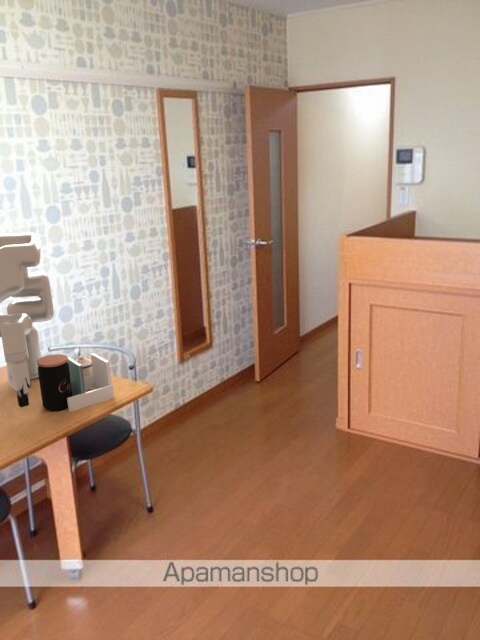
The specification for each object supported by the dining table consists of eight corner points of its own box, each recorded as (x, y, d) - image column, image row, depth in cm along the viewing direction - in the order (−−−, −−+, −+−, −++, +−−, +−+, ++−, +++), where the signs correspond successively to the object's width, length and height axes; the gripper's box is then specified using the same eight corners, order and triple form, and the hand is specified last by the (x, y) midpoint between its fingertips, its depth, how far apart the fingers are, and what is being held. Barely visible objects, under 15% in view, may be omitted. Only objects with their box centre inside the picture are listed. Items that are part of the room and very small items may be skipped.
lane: (53, 398, 223) (48, 363, 219) (96, 386, 233) (92, 352, 229) (69, 411, 211) (64, 374, 207) (114, 397, 222) (110, 362, 218)
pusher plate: (69, 394, 225) (65, 357, 221) (73, 393, 226) (68, 356, 221) (83, 404, 216) (78, 365, 212) (86, 403, 217) (82, 365, 212)
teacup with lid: (98, 386, 233) (95, 358, 230) (74, 390, 229) (70, 362, 226) (91, 375, 243) (88, 348, 240) (68, 380, 240) (65, 352, 236)
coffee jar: (65, 413, 210) (58, 365, 205) (37, 411, 212) (30, 364, 207) (78, 400, 220) (73, 354, 215) (52, 399, 222) (46, 353, 217)
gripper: (-2, 353, 206) (5, 402, 211) (12, 364, 195) (20, 415, 200) (19, 348, 211) (27, 396, 216) (35, 358, 199) (42, 409, 204)
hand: (23, 405), depth 208 cm, fingers closed
